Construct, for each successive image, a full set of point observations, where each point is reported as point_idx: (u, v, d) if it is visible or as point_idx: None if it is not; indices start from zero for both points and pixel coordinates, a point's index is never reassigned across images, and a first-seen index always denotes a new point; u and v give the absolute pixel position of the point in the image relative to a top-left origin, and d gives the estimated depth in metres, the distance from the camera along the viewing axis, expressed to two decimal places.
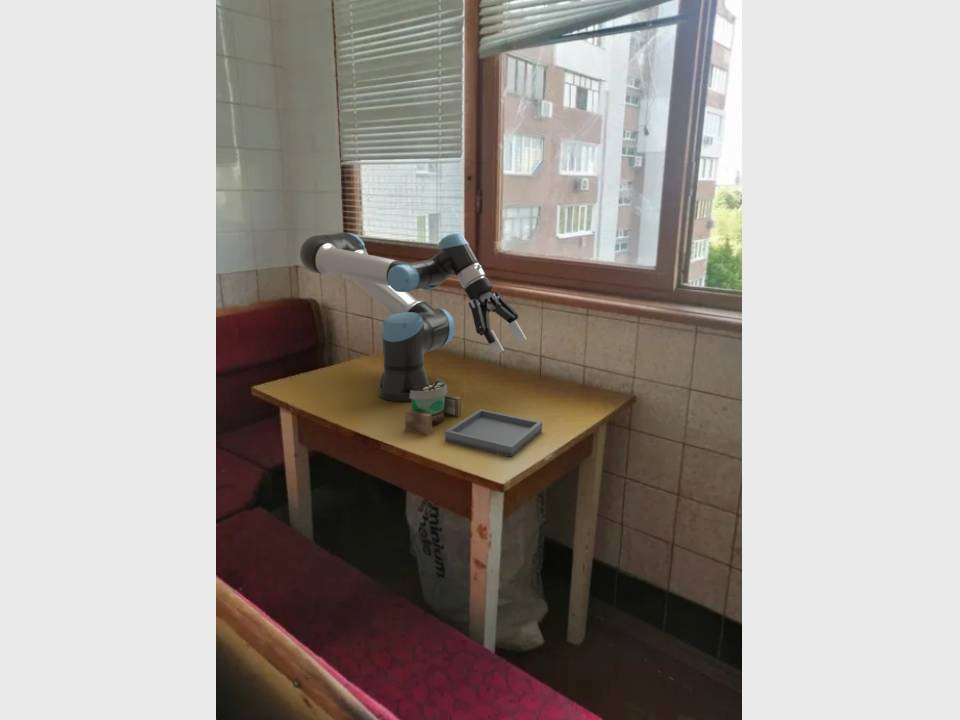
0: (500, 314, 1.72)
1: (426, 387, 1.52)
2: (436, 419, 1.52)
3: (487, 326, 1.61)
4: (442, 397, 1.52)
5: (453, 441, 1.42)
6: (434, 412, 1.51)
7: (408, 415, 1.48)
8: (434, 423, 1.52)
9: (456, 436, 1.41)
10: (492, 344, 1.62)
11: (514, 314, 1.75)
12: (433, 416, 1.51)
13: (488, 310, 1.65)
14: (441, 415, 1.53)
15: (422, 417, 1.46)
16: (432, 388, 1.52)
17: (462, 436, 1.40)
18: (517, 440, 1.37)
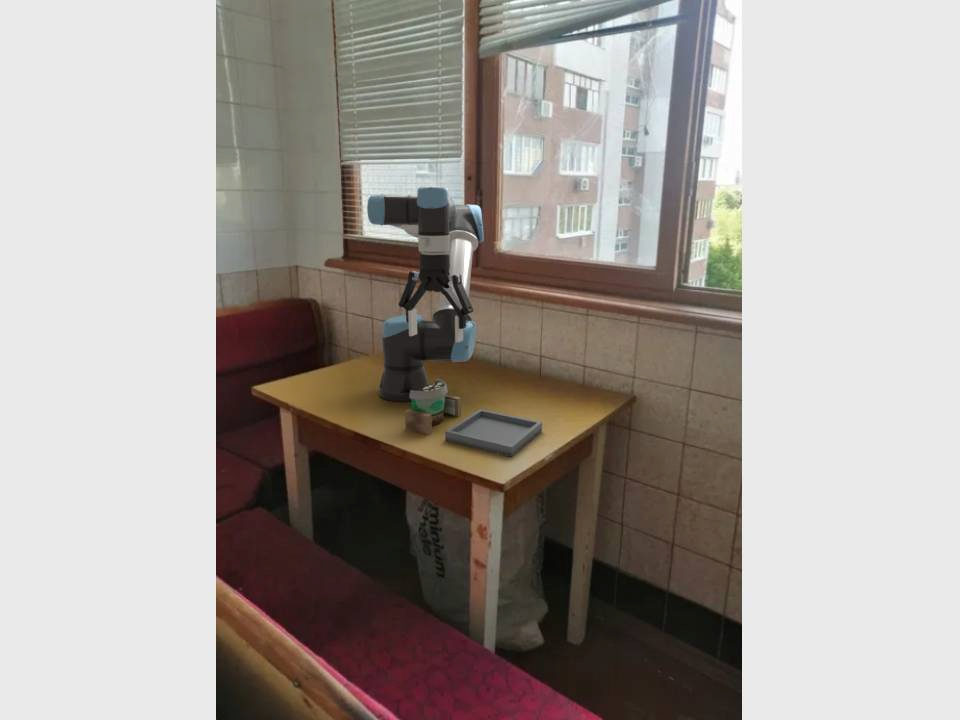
0: None
1: (426, 387, 1.52)
2: (436, 419, 1.52)
3: (407, 305, 1.48)
4: (442, 397, 1.52)
5: (453, 441, 1.42)
6: (434, 412, 1.51)
7: (408, 415, 1.48)
8: (434, 423, 1.52)
9: (456, 436, 1.41)
10: None
11: (463, 309, 1.41)
12: (433, 416, 1.51)
13: (419, 290, 1.45)
14: (441, 415, 1.53)
15: (422, 417, 1.46)
16: (432, 388, 1.52)
17: (462, 436, 1.40)
18: (517, 440, 1.37)
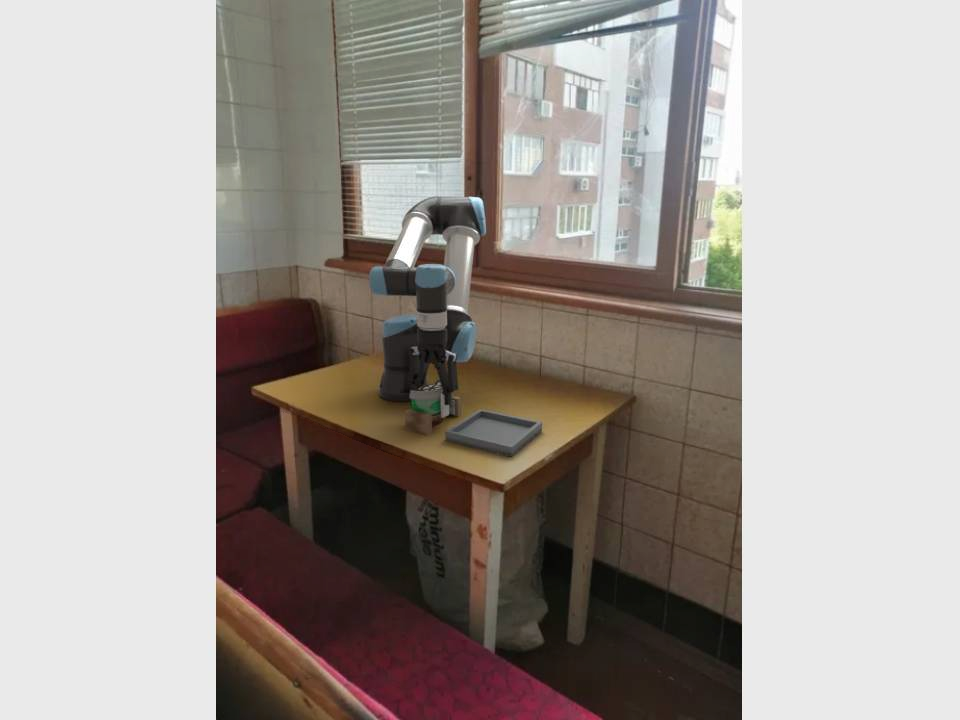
0: None
1: (426, 387, 1.52)
2: (436, 419, 1.52)
3: (416, 383, 1.52)
4: None
5: (453, 441, 1.42)
6: (434, 412, 1.51)
7: (408, 415, 1.48)
8: (434, 423, 1.52)
9: (456, 436, 1.41)
10: None
11: (449, 387, 1.48)
12: (433, 416, 1.51)
13: (422, 365, 1.50)
14: None
15: (422, 417, 1.46)
16: (432, 387, 1.52)
17: (462, 436, 1.40)
18: (517, 440, 1.37)
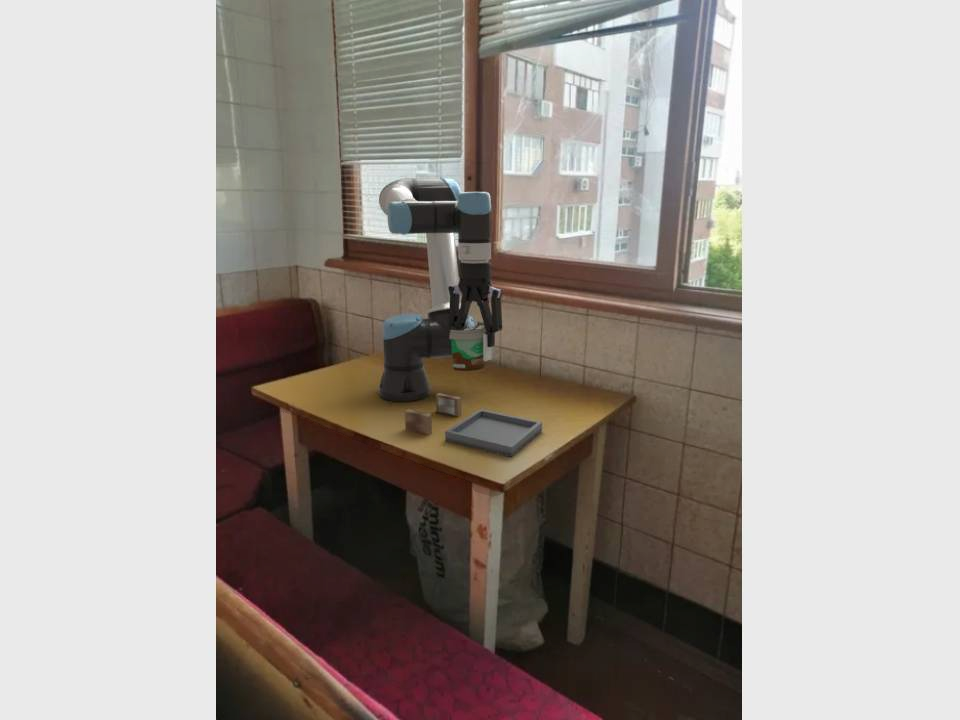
0: None
1: (467, 328, 1.41)
2: (478, 363, 1.40)
3: (456, 324, 1.41)
4: None
5: (453, 441, 1.42)
6: (475, 354, 1.39)
7: (408, 415, 1.48)
8: (475, 367, 1.40)
9: (456, 436, 1.41)
10: None
11: (493, 326, 1.36)
12: (475, 359, 1.39)
13: (463, 303, 1.38)
14: None
15: (422, 417, 1.46)
16: (474, 329, 1.41)
17: (462, 436, 1.40)
18: (517, 440, 1.37)
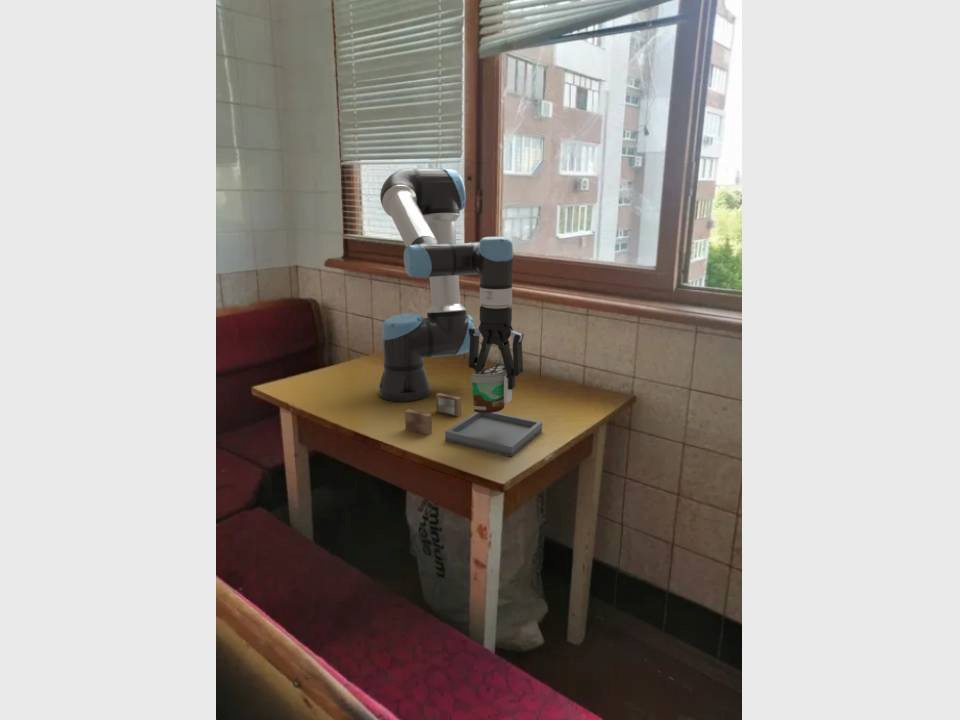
0: None
1: (487, 370, 1.41)
2: (498, 405, 1.41)
3: (476, 366, 1.42)
4: None
5: (453, 441, 1.42)
6: (496, 397, 1.40)
7: (408, 415, 1.48)
8: (496, 409, 1.41)
9: (456, 436, 1.41)
10: None
11: (514, 369, 1.37)
12: (495, 401, 1.40)
13: (484, 346, 1.39)
14: (503, 401, 1.42)
15: (422, 417, 1.46)
16: (494, 371, 1.41)
17: (462, 436, 1.40)
18: (517, 440, 1.37)
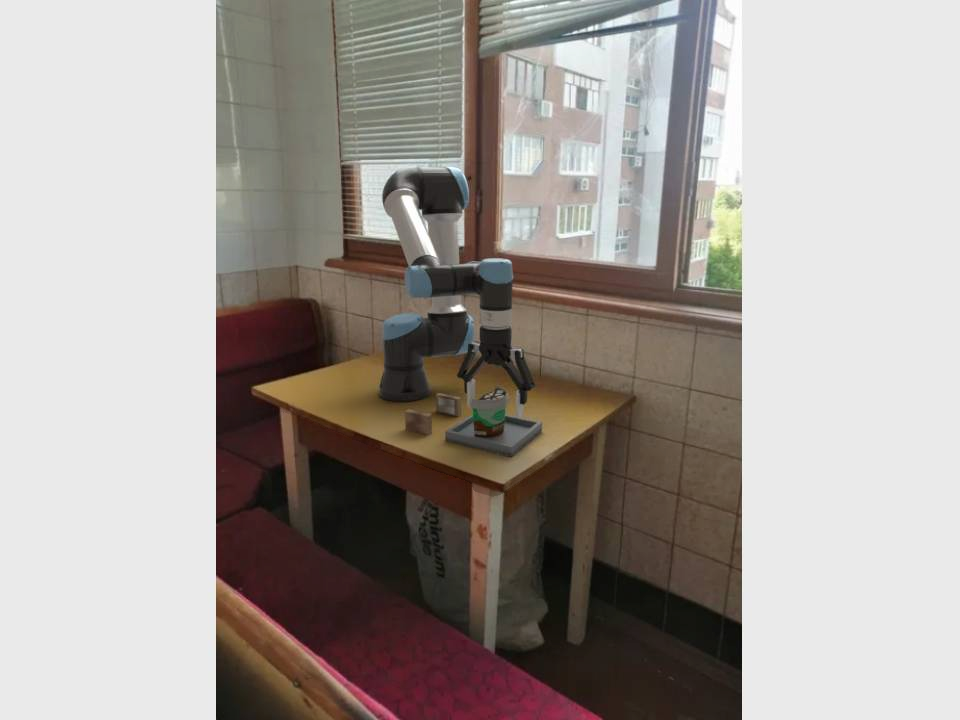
0: None
1: (487, 395, 1.43)
2: (498, 429, 1.43)
3: (466, 376, 1.44)
4: (504, 406, 1.43)
5: (453, 441, 1.42)
6: (496, 422, 1.42)
7: (408, 415, 1.48)
8: (496, 434, 1.43)
9: (456, 436, 1.41)
10: None
11: (525, 385, 1.36)
12: (495, 426, 1.42)
13: (479, 363, 1.41)
14: (503, 425, 1.44)
15: (422, 417, 1.46)
16: (494, 396, 1.43)
17: (462, 436, 1.40)
18: (517, 440, 1.37)
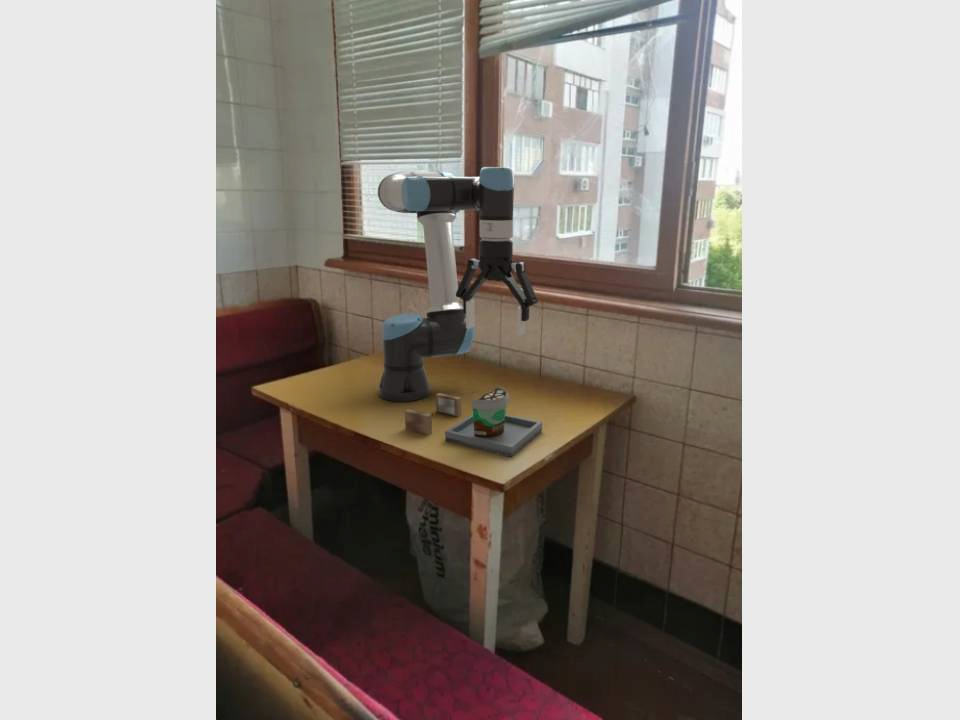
0: None
1: (487, 395, 1.43)
2: (498, 429, 1.43)
3: (465, 295, 1.39)
4: (504, 406, 1.43)
5: (453, 441, 1.42)
6: (496, 422, 1.42)
7: (408, 415, 1.48)
8: (496, 434, 1.43)
9: (456, 436, 1.41)
10: None
11: (527, 300, 1.31)
12: (495, 426, 1.42)
13: (479, 279, 1.35)
14: (503, 425, 1.44)
15: (422, 417, 1.46)
16: (494, 396, 1.43)
17: (462, 436, 1.40)
18: (517, 440, 1.37)
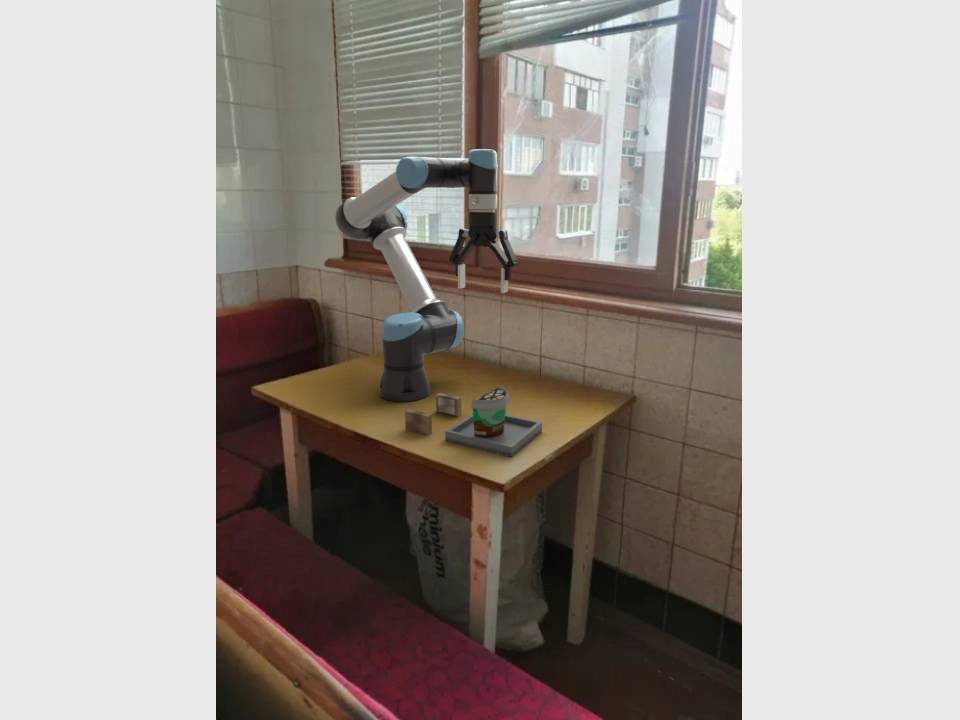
0: None
1: (487, 395, 1.43)
2: (498, 429, 1.43)
3: (456, 260, 1.63)
4: (504, 406, 1.43)
5: (453, 441, 1.42)
6: (496, 422, 1.42)
7: (408, 415, 1.48)
8: (496, 434, 1.43)
9: (456, 436, 1.41)
10: None
11: (509, 262, 1.55)
12: (495, 426, 1.42)
13: (468, 246, 1.60)
14: (503, 425, 1.44)
15: (422, 417, 1.46)
16: (494, 396, 1.43)
17: (462, 436, 1.40)
18: (517, 440, 1.37)
